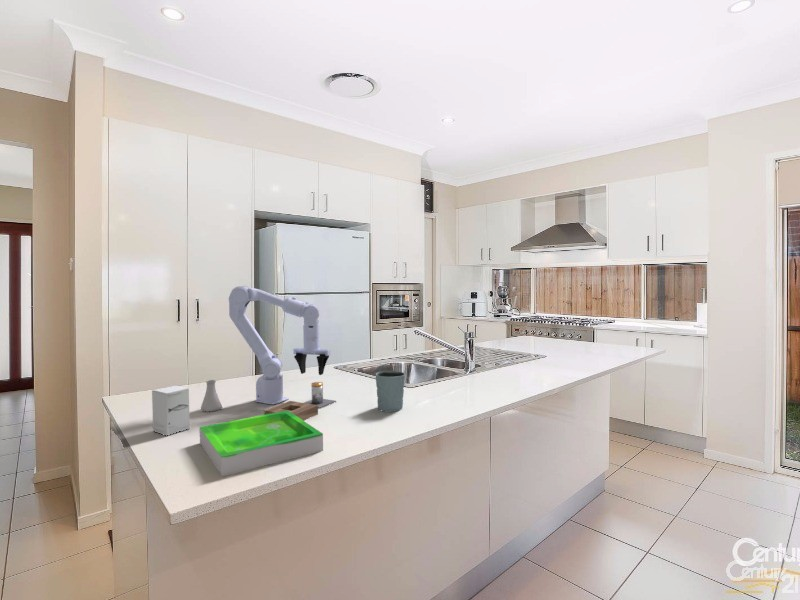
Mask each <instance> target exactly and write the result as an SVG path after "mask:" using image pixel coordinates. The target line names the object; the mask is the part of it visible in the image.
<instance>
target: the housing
mask: <svg viewBox="0 0 800 600" xmlns="http://www.w3.org/2000/svg"><path fill="white" fill-rule="evenodd" d="M282 411H289V412H291V413H292V414H294V415H295V416H297V417H298V418H300V419H301V420H303V421H306V420H308V419H310V417H311V418H312V417H315V416H317V415H319V408H318V405H313V404H307V403H304V402H300V401H294V400H293V401H292V400H287V401H286V402H284V403H280V404H278V405H275V406H273V407H269V408H267V409H264V410H263V415H266V414H272V413H277V412H282Z"/></svg>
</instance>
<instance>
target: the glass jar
mask: <svg viewBox="0 0 800 600" xmlns="http://www.w3.org/2000/svg"><path fill="white" fill-rule="evenodd" d="M323 399H324V383H323V382H321V381H315V382H311V400H312V404H322V403H323Z"/></svg>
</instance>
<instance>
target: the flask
mask: <svg viewBox="0 0 800 600" xmlns="http://www.w3.org/2000/svg"><path fill="white" fill-rule="evenodd" d="M216 382H217V381H216V379H208V380H205V383H206V389H205V394H204V397H203V400H202V403H201V405H200V408H201V409H200V411H201V410H202V411H201V412H205V411H206V412H205V413H209V411H210V412H215V411H219V410H222V409H223V408H224V406H223V405H222V403H221V401H220V398H219V396H218V393H217V390H216V389H217V388H216Z"/></svg>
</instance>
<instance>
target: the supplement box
mask: <svg viewBox="0 0 800 600" xmlns="http://www.w3.org/2000/svg"><path fill="white" fill-rule="evenodd" d="M151 402H152V405H151V406H152V409H151V410H152V431H155V432H158V433H161V434H164V435H166V436H165V437H168V436H171V435H174V434H176V432H177V433H180V432H179V431H181V432H183V430H184V431H187V430H186V429H188V430H190V429H189V428H190V427H191V426H190V425H191V424H190V422H191V420H190V416H191V415H190V389H189V387H185V386H180V385H172V386H166V387H162V388H157V389H153V390H151ZM155 432H154V433H155ZM158 433H157V434H158ZM173 433H174V434H173ZM161 434H160V435H161ZM170 434H171V435H170ZM164 435H163V436H164ZM167 435H168V436H167Z"/></svg>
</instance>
